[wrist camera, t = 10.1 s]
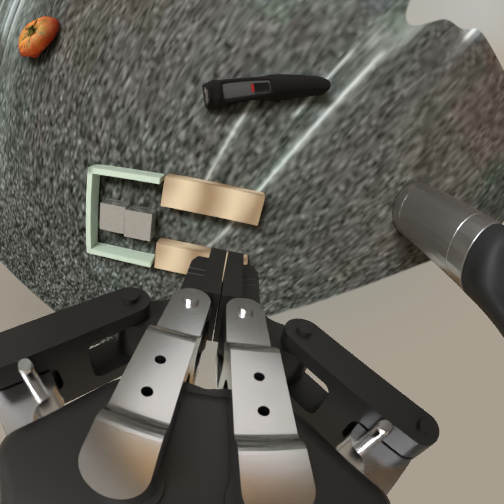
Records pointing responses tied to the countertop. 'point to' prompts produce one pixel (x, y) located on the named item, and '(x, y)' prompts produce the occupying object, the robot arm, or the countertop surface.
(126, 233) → the metal chip
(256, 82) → the electric trimmer
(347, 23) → the countertop surface
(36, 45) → the tomato
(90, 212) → the box
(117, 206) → the metal chip
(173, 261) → the slot rails
